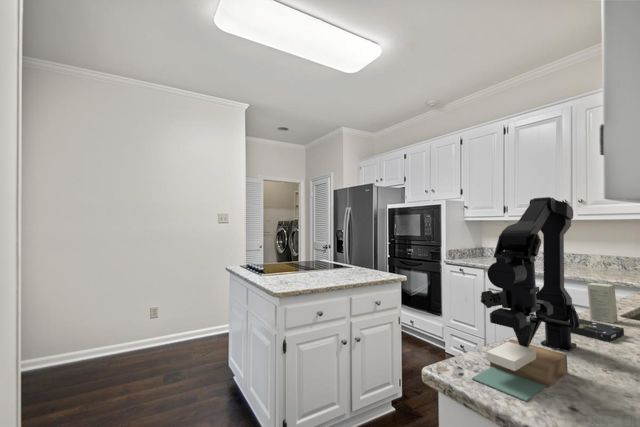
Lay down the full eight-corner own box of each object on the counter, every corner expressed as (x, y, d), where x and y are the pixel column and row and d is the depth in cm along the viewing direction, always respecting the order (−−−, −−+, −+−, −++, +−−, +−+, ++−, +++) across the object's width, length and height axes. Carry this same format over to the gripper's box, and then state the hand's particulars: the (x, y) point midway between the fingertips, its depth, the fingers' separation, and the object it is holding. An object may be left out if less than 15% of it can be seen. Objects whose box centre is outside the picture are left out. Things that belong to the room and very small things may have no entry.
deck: (511, 354, 81) (511, 339, 81) (567, 372, 71) (566, 354, 72) (490, 366, 75) (489, 350, 75) (548, 387, 65) (547, 368, 65)
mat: (492, 367, 75) (492, 366, 75) (545, 386, 66) (545, 385, 66) (471, 379, 70) (471, 377, 70) (526, 401, 61) (526, 400, 61)
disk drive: (624, 337, 92) (566, 323, 105) (624, 327, 92) (565, 315, 105) (610, 345, 87) (550, 329, 100) (609, 335, 87) (549, 320, 100)
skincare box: (618, 321, 104) (616, 284, 104) (613, 323, 102) (611, 286, 102) (593, 316, 110) (591, 281, 110) (588, 318, 107) (586, 283, 108)
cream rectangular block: (508, 349, 75) (508, 341, 75) (536, 358, 70) (535, 349, 70) (487, 360, 70) (486, 351, 70) (514, 371, 65) (514, 361, 65)
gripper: (504, 273, 85) (507, 331, 84) (466, 282, 74) (469, 348, 74) (552, 278, 76) (555, 343, 75) (516, 290, 65) (520, 365, 65)
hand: (524, 349), depth 73 cm, fingers closed
